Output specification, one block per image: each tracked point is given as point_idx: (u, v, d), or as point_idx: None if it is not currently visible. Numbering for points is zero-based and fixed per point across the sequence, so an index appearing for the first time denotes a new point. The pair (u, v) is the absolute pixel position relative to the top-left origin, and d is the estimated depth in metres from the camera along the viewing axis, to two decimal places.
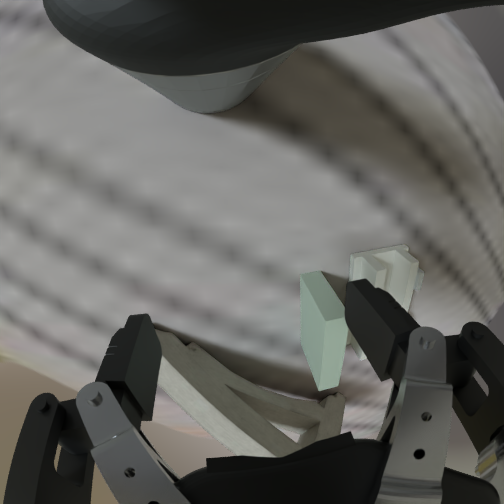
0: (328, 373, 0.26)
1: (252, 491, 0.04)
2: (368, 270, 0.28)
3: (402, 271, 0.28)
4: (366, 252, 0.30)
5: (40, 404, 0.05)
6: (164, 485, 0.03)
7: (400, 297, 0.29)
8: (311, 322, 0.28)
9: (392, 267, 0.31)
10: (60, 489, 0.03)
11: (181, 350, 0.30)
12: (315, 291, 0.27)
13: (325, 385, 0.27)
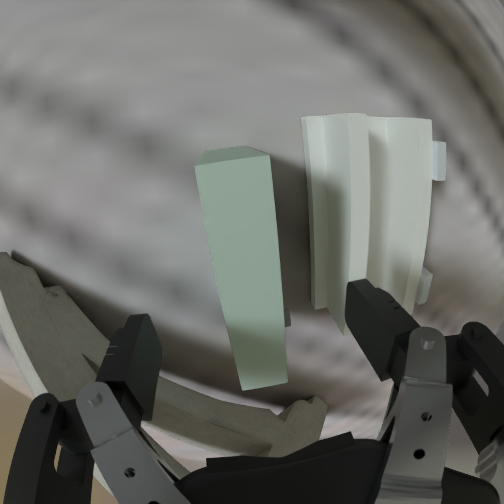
0: (252, 347, 0.12)
1: (252, 491, 0.04)
2: (334, 129, 0.13)
3: (404, 146, 0.14)
4: None
5: (40, 404, 0.05)
6: (164, 485, 0.03)
7: (409, 200, 0.15)
8: None
9: (385, 150, 0.16)
10: (60, 489, 0.03)
11: (33, 291, 0.16)
12: (214, 153, 0.12)
13: (255, 379, 0.13)
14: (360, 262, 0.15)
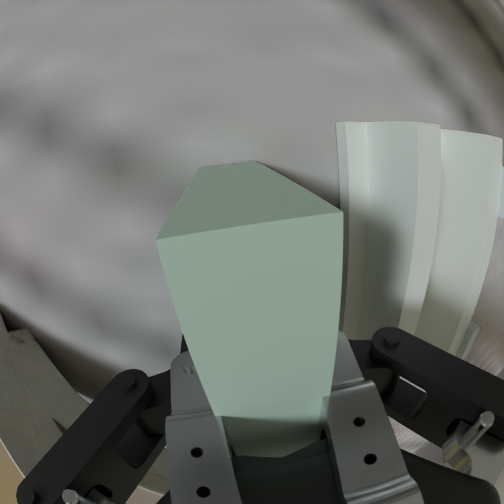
0: None
1: (252, 491, 0.04)
2: (389, 144, 0.09)
3: (468, 170, 0.09)
4: None
5: (127, 382, 0.06)
6: (225, 476, 0.03)
7: (469, 241, 0.10)
8: None
9: None
10: (112, 469, 0.04)
11: None
12: (210, 178, 0.08)
13: None
14: (409, 328, 0.10)
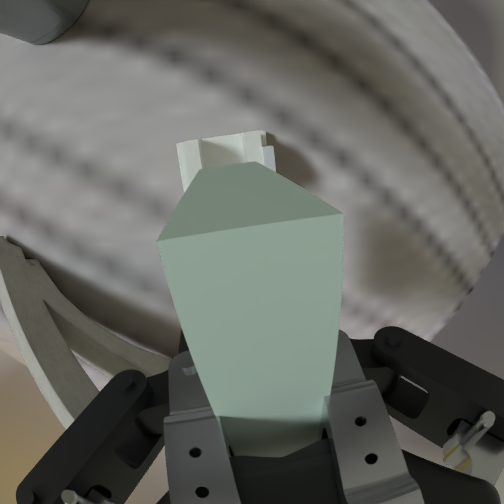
0: None
1: (252, 491, 0.04)
2: None
3: (245, 154, 0.21)
4: None
5: (125, 382, 0.06)
6: (224, 476, 0.03)
7: None
8: None
9: (242, 158, 0.24)
10: (110, 469, 0.04)
11: (18, 261, 0.23)
12: (210, 179, 0.08)
13: None
14: None
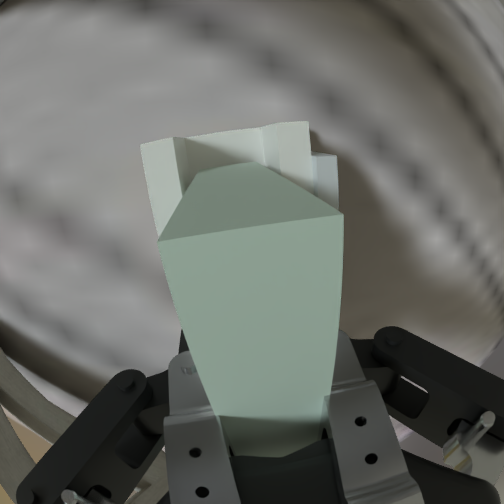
0: None
1: (252, 491, 0.04)
2: None
3: (273, 168, 0.11)
4: None
5: (125, 382, 0.06)
6: (224, 476, 0.03)
7: None
8: None
9: None
10: (110, 469, 0.04)
11: None
12: (211, 179, 0.08)
13: None
14: None
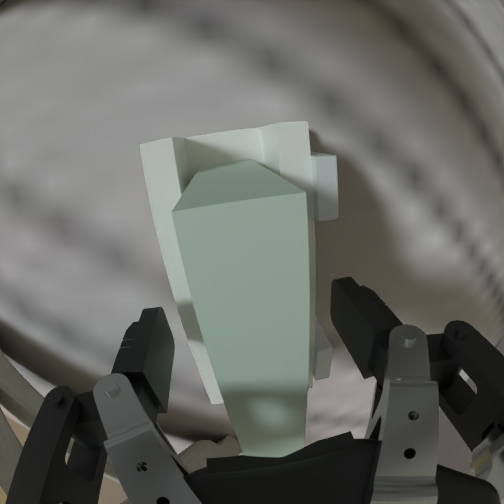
0: (262, 434, 0.08)
1: (252, 491, 0.04)
2: None
3: (272, 168, 0.11)
4: None
5: (56, 398, 0.05)
6: (176, 481, 0.03)
7: None
8: None
9: None
10: (69, 483, 0.04)
11: None
12: (210, 173, 0.09)
13: None
14: (201, 334, 0.12)
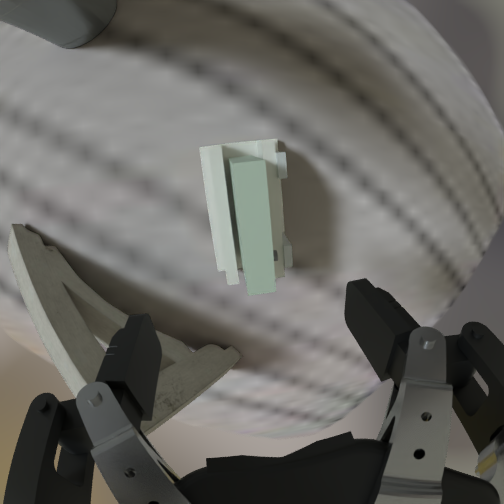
0: (255, 261, 0.22)
1: (252, 491, 0.04)
2: None
3: None
4: None
5: (40, 404, 0.05)
6: (164, 485, 0.03)
7: None
8: (234, 198, 0.24)
9: None
10: (60, 489, 0.03)
11: (37, 247, 0.26)
12: (236, 159, 0.23)
13: (256, 286, 0.23)
14: (227, 233, 0.26)
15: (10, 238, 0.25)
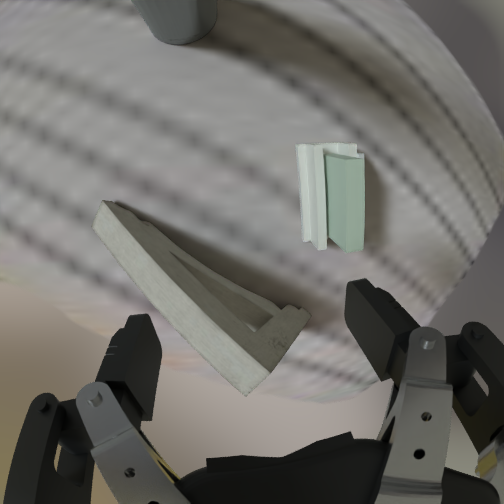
0: (353, 227, 0.30)
1: (252, 491, 0.04)
2: (309, 151, 0.33)
3: None
4: None
5: (40, 404, 0.05)
6: (164, 485, 0.03)
7: None
8: (332, 184, 0.32)
9: None
10: (60, 489, 0.03)
11: (135, 221, 0.34)
12: (332, 156, 0.31)
13: (351, 246, 0.31)
14: (322, 209, 0.34)
15: (99, 214, 0.33)
